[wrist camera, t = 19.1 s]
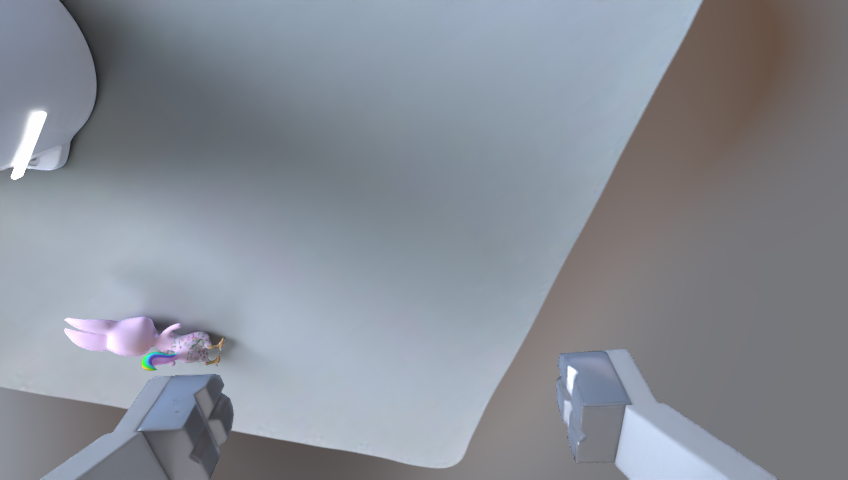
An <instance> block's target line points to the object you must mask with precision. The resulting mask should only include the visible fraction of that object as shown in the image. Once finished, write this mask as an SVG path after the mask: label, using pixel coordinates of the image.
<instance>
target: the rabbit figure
mask: <svg viewBox="0 0 848 480" xmlns="http://www.w3.org/2000/svg"><path fill="white" fill-rule="evenodd" d="M65 321H66V322H68V323H69V324H71V325H73V326H74V327H76V328H78V329H80V330H82V331H86V332H81V331H76V330H71V329H65V333H66V334H67V335H68V337H69V338H70V339H71V340H72V341H73V342H74V343H75V344H77V345H78V346H80V347H82V348H85V349H88V350H92V351H108V350H110V351H112V352H114V353H116V354H118V355H122V356H130V357H134V356H140V355H143V354H145V353H146V352H147V351H148V350H149V349H150V348H151V347H152V346H157V347H158V348H159V350H160V352H152V353H150V354H148V355H146V356H145V357H144V358H143V360H142V363H141V366H142V367H143V368H144V369H145V370H148V371H154V370H157V369H155V367H154V366H155V365H161V364H166V363H168V364H169V365H170V366H174V365H175V361H174V360H180V361H182V362H185V363H192V362H202V363H204V364H205V365H209V364H212V363H216V366H218V365H217V363H219V360H220V355H221V353H219V355H218V356H217V358H216V359H215V360H213V361H210V360H209V359H208V349H207V348H209V349H212V348H217V347H219V348H220V350H221V348H222V347H223V344H224V340H223V339H224V338H225V337H224V338H222V340H221V342H220V343H219V344H218V345H212V344H211V342H210V336H209V335H208V334H207V333H205V332H194V333H191V334H187V335H183V336H180V335H178V334H176V333H171V332H172V331H173V330H175V329H179V328H181V326H182V324H181V323H177V324H174V325H172V326H170V327H168V328H167V329H166V330H164V331H163V332H162V334H161V335H157V334H156V333H157V330H156V329H155V328H154V323H153V321H152V320H151V319H150V318H148V317H138V318H130V319H126V320H122V321H112V320H85V319H73V318H66V319H65ZM87 332H90V333H87ZM169 350H171V351H172V352H174V354H171V355H170V354H168V351H169ZM221 351H222V350H221Z"/></svg>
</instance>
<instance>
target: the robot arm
mask: <svg viewBox="0 0 848 480" xmlns="http://www.w3.org/2000/svg"><path fill="white" fill-rule="evenodd" d="M96 91H97V80H96V72H95V66H94V62H93V59H92V55H91V52H90V50H89V47H88V45H87V42H86V40H85V38H84V36H83V34H82V32H81V30H80V29H79V27H78V25H77V23H76V22H75V20H74V19H73V17H72V16H71V15H70V13H69V12H68V10H67V9H66V8H65V7H64V5H63V4H62V3H61V2H60V1H59V0H0V171H1V170H4V169H7V168H9V167H15V168H14V170H13V173H12V176H11V178H12V179H14V180H15V179H17V178H20V177H22V176H23V174H24V172H25V169H26V168H29V169H39V170H54V169H57V168H60V167H62V166H64V165H65V163H66V161H67V158H68V155H69V149H70V143H71V140H72V138H73V136H74V135H75V134H76V133H77V132H78V131H79V130H80V128H81V127H82V126H83V125H84V124H85V123H86V121H87V120H88V118H89V116H90V114H91V112H92V110H93V107H94V103H95V99H96ZM558 367H559V370H560V373H561V376H560V377H559V378H558V379H557V388H556V392H557V402H558V407H559V412H560V415H561V418H562V421H563V422H564V423H566V424H567V425H568V441H569V444H570V447H571V450H572V453H573V456H574V459H575V462H576V463H615V465H616V466H617V467H618V468H619V469H620V470H621V471H622V472H623V473H624V474H625V475H626V476H627V477H628V478H629V479H630V480H778V478H777V477H775V476H773V475H772V474H771V473H769V472H768V471H766V470H765V469H763V468H762V467H760V466H759V465H757V464H756V463H754V462H753V461H751V460H750V459H748V458H747V457H745V456H744V455H742V454H741V453H739V452H738V451H736V450H735V449H733V448H732V447H730V446H729V445H727V444H726V443H724V442H723V441H721V440H720V439H718V438H717V437H715V436H714V435H712V434H711V433H709V432H708V431H706V430H705V429H703V428H702V427H700V426H699V425H697V424H696V423H694V422H693V421H691V420H690V419H688V418H687V417H685V416H684V415H682V414H681V413H679V412H678V411H676V410H675V409H673V408H672V407H670V406H669V405H667V404H666V403H658V402H657V400H656V398H655V396H654V394H653V393H652V391H651V389H650V387H649V385H648V384H647V382H646V380H645V378H644V377H643V375H642V373H641V371H640V370H639V368H638V366H637V364H636V362H635V361H634V359H633V357H632V355H631V354H630V352H629V351H628V350H626V349H616V350H604V351H588V352H574V353H561V354H560V356H559V362H558ZM223 387H224V383H223V381H222V379H221V377H220V375H216V374H204V375H175V376H157V377H154V378H152V379H151V380H149V381H148V382H147V384H146V385H145V387H144V388H143V390H142V391H141V392H140V394H139V395H138V397H137V398H136V400H135V401H134V403H133V404H132V405H131V407H130V408H129V410H128V411H127V413H126V414H125V416H124V417H123V418H122V420H121V421H120V423H119V424H118V426H117V427H116V428H115V430H114V431H113V433H109V434H105V435H103V436H102V437H100V438H99V439H97V440H96V441H95V442H93V443H92V444H90V445H89V446H87V447H86V448H84V449H83V450H81V451H80V452H78V453H77V454H76V455H74V456H73V457H71V458H70V459H68V460H67V461H66V462H64V463H63V464H61V465H60V466H58V467H57V468H55V469H54V470H53V471H51V472H49V473H48V474H47V475H45V476H44V477H42V478H41V479H39V480H210V478H211V475H212V473H213V471H214V468H215V466H216V464H217V462H218V459H219V457H220V453H219V450H218V448H217V447H218V446H219V445H221V444H222V443H223V442H224V441H225V440H226V439H227V438H228V436H229V433H230V431H231V429H232V423H233V416H234V414H233V406H232V403H231V401H230V398H228V397H227V396H226V395H224V394H223V393H221V391H222V389H223Z"/></svg>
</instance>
